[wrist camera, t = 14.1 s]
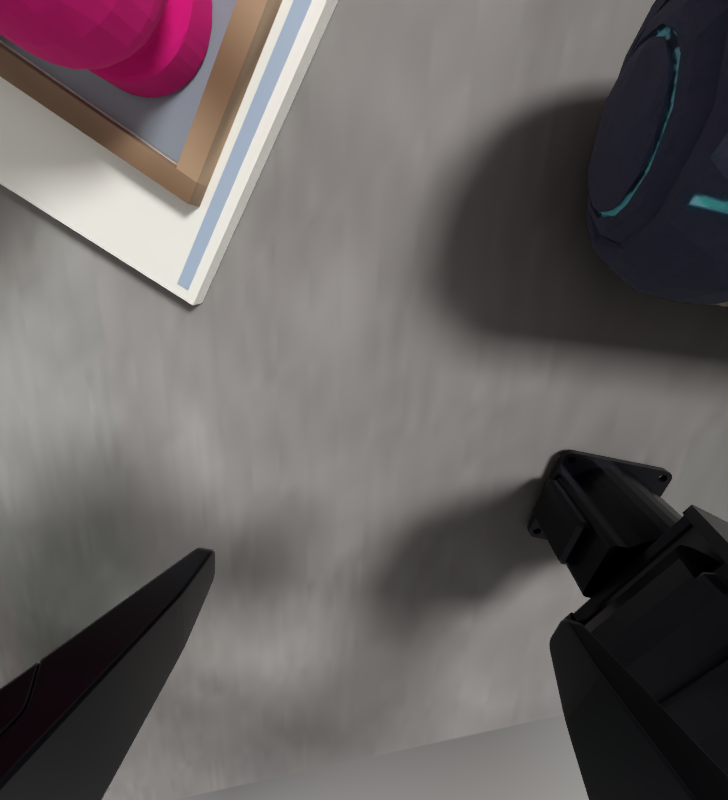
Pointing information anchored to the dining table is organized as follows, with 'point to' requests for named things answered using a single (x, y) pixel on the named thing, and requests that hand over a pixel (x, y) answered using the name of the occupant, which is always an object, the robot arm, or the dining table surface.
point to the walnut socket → (210, 121)
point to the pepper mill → (115, 38)
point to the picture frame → (166, 133)
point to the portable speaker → (667, 158)
